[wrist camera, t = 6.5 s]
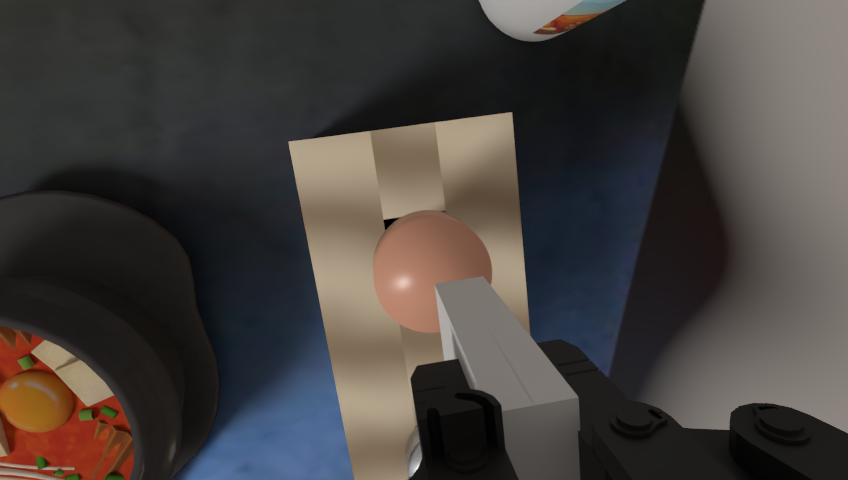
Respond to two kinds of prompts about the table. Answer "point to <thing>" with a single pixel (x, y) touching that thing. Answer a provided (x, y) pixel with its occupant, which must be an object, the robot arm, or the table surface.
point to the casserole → (98, 343)
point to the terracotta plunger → (424, 265)
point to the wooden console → (356, 242)
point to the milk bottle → (542, 16)
